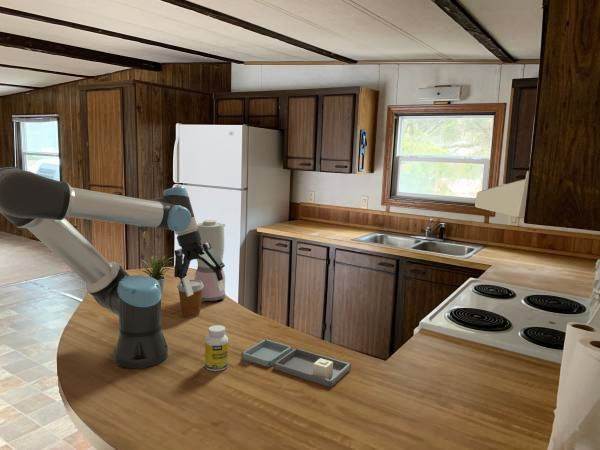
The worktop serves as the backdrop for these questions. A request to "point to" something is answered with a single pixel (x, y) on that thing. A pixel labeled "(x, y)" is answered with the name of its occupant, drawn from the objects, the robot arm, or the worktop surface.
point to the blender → (204, 273)
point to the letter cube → (323, 368)
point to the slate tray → (265, 353)
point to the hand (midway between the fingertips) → (205, 292)
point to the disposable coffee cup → (191, 299)
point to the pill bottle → (216, 349)
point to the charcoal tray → (310, 366)
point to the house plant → (158, 270)
